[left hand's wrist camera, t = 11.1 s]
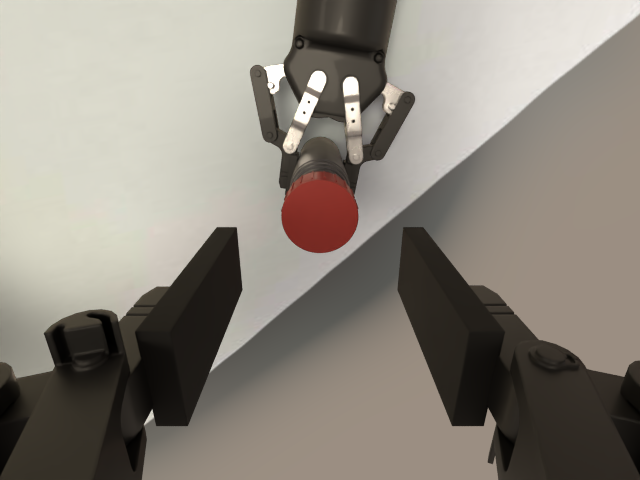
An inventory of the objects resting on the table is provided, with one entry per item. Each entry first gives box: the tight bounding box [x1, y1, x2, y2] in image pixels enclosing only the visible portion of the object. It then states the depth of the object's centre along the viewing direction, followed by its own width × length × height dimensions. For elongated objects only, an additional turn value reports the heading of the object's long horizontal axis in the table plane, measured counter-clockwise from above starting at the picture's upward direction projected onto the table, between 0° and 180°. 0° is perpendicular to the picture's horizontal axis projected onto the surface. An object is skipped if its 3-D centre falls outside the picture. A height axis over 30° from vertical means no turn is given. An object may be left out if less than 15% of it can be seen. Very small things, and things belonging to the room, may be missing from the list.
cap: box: [281, 171, 358, 253], centre depth 20 cm, size 4×4×2 cm
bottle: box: [290, 137, 350, 187], centre depth 29 cm, size 4×4×20 cm
